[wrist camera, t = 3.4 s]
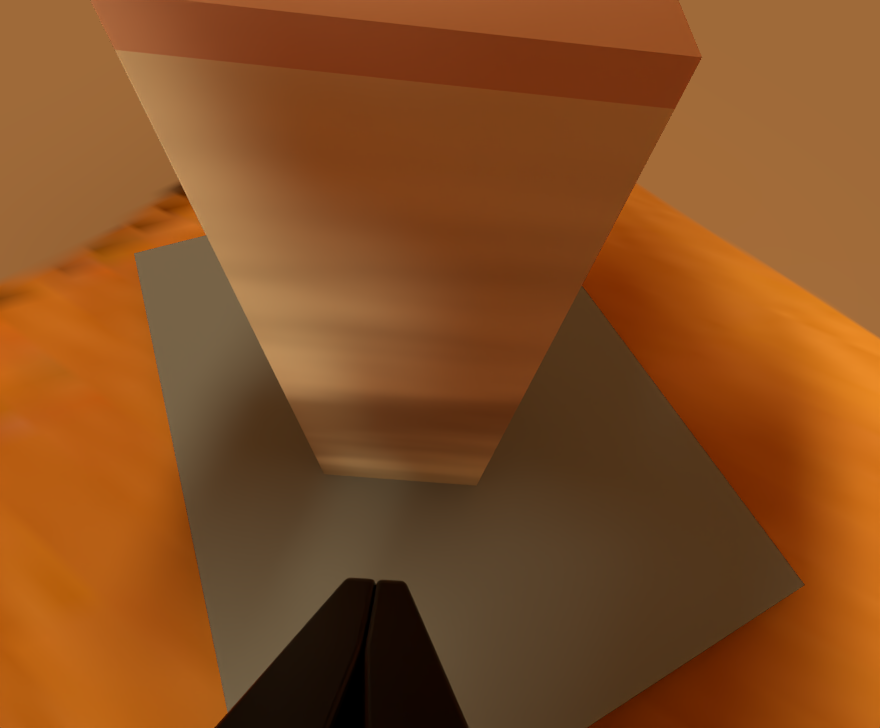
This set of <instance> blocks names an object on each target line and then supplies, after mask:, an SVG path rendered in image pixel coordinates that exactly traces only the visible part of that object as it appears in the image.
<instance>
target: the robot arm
mask: <svg viewBox="0 0 880 728" xmlns="http://www.w3.org/2000/svg"><path fill="white" fill-rule="evenodd" d="M215 728H469V726H468V724H467V722H466V719H465V717H464V715H463V712H462V710H461V708H460V706H459V703H458V701H457V699H456V696H455V694H454V692H453V689H452V687H451V685H450V682H449V680H448V678H447V675H446V673H445V671H444V669H443V666H442V664H441V662H440V659H439V657H438V655H437V652H436V650H435V648H434V645H433V643H432V641H431V638H430V636H429V634H428V632H427V629H426V627H425V625H424V622H423V620H422V618H421V615H420V613H419V611H418V608H417V606H416V604H415V601H414V599H413V597H412V595H411V592H410V590H409V588H408V586H407V584H406V583H405V582H404V581H398V580H383V579H382V580H379V581H378V582H377V583H375V581H374V580H373V579H368V578H353V577H350V578H347V579H345V580H344V581H343V582H342V584H341V585H340V586H339V587H338V588H337V589H336V590H335V591H334V593H333V594H332V595H331V596H330V597H329V598H328V599H327V601H326V602H325V603H324V604H323V605H322V606H321V607H320V609H319V610H318V611H317V612H316V613H315V614H314V615H313V616H312V618H311V619H310V620H309V621H308V622H307V623H306V624H305V626H304V627H303V628H302V629H301V630H300V631H299V632H298V634H297V635H296V636H295V637H294V638H293V639H292V640H291V641H290V643H289V644H288V645H287V646H286V647H285V648H284V649H283V651H282V652H281V653H280V654H279V655H278V656H277V657H276V659H275V660H274V661H273V662H272V663H271V664H270V665H269V666H268V668H267V669H266V670H265V671H264V672H263V673H262V674H261V676H260V677H259V678H258V679H257V680H256V681H255V682H254V684H253V685H252V686H251V687H250V688H249V689H248V690H247V691H246V693H245V694H244V695H243V696H242V697H241V698H240V699H239V701H238V702H237V703H236V704H235V705H234V706H233V707H232V708H231V710H230V711H229V712H228V713H227V714H226V715H225V716H224V718H223V719H222V720H221V721H220V722H219V723H218V724H217V726H216V727H215Z"/></svg>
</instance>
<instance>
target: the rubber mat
mask: <svg viewBox="0 0 880 728" xmlns="http://www.w3.org/2000/svg"><path fill="white" fill-rule="evenodd" d="M134 255H135V260H136V265H137V269H138V274H139V279H140V284H141V289H142V294H143V299H144V304H145V309H146V314H147V319H148V323H149V328H150V333H151V338H152V343H153V348H154V353H155V358H156V363H157V368H158V372H159V377H160V382H161V387H162V392H163V397H164V402H165V407H166V412H167V417H168V422H169V426H170V431H171V436H172V441H173V446H174V451H175V456H176V461H177V466H178V471H179V476H180V480H181V485H182V490H183V495H184V500H185V505H186V510H187V515H188V520H189V525H190V529H191V534H192V539H193V544H194V549H195V554H196V559H197V564H198V569H199V574H200V579H201V583H202V588H203V593H204V598H205V603H206V608H207V613H208V618H209V623H210V628H211V633H212V637H213V642H214V647H215V652H216V657H217V662H218V667H219V672H220V677H221V682H222V686H223V691H224V696H225V701H226V706H227V711H228V712H229V711H230V710H231V708H232V707H233V706H234V705H235V704H236V703H237V702H238V701H239V699H240V698H241V697H242V696H243V695H244V694H245V693H246V691H247V690H248V689H249V688H250V687H251V686H252V685H253V684H254V682H255V681H256V680H257V679H258V678H259V677H260V676H261V674H262V673H263V672H264V671H265V670H266V669H267V668H268V666H269V665H270V664H271V663H272V662H273V661H274V660H275V659H276V657H277V656H278V655H279V654H280V653H281V652H282V651H283V649H284V648H285V647H286V646H287V645H288V644H289V643H290V641H291V640H292V639H293V638H294V637H295V636H296V635H297V634H298V632H299V631H300V630H301V629H302V628H303V627H304V626H305V624H306V623H307V622H308V621H309V620H310V619H311V618H312V616H313V615H314V614H315V613H316V612H317V611H318V610H319V609H320V607H321V606H322V605H323V604H324V603H325V602H326V601H327V599H328V598H329V597H330V596H331V595H332V594H333V593H334V591H335V590H336V589H337V588H338V587H339V586H340V585H341V584H342V582H343V581H344V580H345V579H347V578H350V577H353V578H368V579H373V580H374V581H375V583H377V582H378V581H379V580H382V579H383V580H398V581H404V582H405V583H406V584H407V586H408V588H409V590H410V592H411V595H412V597H413V599H414V601H415V604H416V606H417V608H418V611H419V613H420V615H421V618H422V620H423V622H424V625H425V627H426V629H427V632H428V634H429V636H430V638H431V641H432V643H433V645H434V648H435V650H436V652H437V655H438V657H439V659H440V662H441V664H442V666H443V669H444V671H445V673H446V675H447V678H448V680H449V682H450V685H451V687H452V689H453V692H454V694H455V696H456V699H457V701H458V703H459V706H460V708H461V710H462V712H463V715H464V717H465V719H466V722H467V724H468V726H469V728H587V727H589V726H590V725H592V724H593V723H595V722H596V721H598V720H599V719H601V718H602V717H604V716H605V715H607V714H609V713H610V712H612V711H613V710H615V709H616V708H618V707H619V706H621V705H622V704H624V703H625V702H627V701H628V700H630V699H631V698H633V697H634V696H636V695H638V694H639V693H641V692H642V691H644V690H645V689H647V688H648V687H650V686H651V685H653V684H654V683H656V682H657V681H659V680H660V679H662V678H664V677H665V676H667V675H668V674H670V673H671V672H673V671H674V670H676V669H677V668H679V667H680V666H682V665H683V664H685V663H686V662H688V661H689V660H691V659H693V658H694V657H696V656H697V655H699V654H700V653H702V652H703V651H705V650H706V649H708V648H709V647H711V646H712V645H714V644H715V643H717V642H718V641H720V640H722V639H723V638H725V637H726V636H728V635H729V634H731V633H732V632H734V631H735V630H737V629H738V628H740V627H741V626H743V625H744V624H746V623H748V622H749V621H751V620H752V619H754V618H755V617H757V616H758V615H760V614H761V613H763V612H764V611H766V610H767V609H769V608H770V607H772V606H773V605H775V604H777V603H778V602H780V601H781V600H783V599H784V598H786V597H787V596H789V595H790V594H792V593H793V592H795V591H796V590H798V589H799V588H801V587H803V586H804V583H803V582H802V581H801V579H800V578H799V577H798V575H797V574H796V573H795V571H794V570H793V568H792V567H791V566H790V564H789V563H788V562H787V560H786V559H785V558H784V556H783V555H782V554H781V552H780V551H779V550H778V548H777V547H776V546H775V544H774V543H773V542H772V540H771V539H770V538H769V536H768V535H767V534H766V532H765V531H764V530H763V528H762V527H761V526H760V524H759V523H758V521H757V520H756V519H755V517H754V516H753V515H752V513H751V512H750V511H749V509H748V508H747V507H746V505H745V504H744V503H743V501H742V500H741V499H740V497H739V496H738V495H737V493H736V492H735V491H734V489H733V488H732V487H731V485H730V484H729V483H728V481H727V480H726V478H725V477H724V476H723V474H722V473H721V472H720V470H719V469H718V468H717V466H716V465H715V464H714V462H713V461H712V460H711V458H710V457H709V456H708V454H707V453H706V452H705V450H704V449H703V448H702V446H701V445H700V444H699V442H698V441H697V440H696V438H695V437H694V435H693V434H692V433H691V431H690V430H689V429H688V427H687V426H686V425H685V423H684V422H683V421H682V419H681V418H680V417H679V415H678V414H677V413H676V411H675V410H674V409H673V407H672V406H671V405H670V403H669V402H668V401H667V399H666V398H665V397H664V395H663V394H662V393H661V391H660V390H659V388H658V387H657V386H656V384H655V383H654V382H653V380H652V379H651V378H650V376H649V375H648V374H647V372H646V371H645V370H644V368H643V367H642V366H641V364H640V363H639V362H638V360H637V359H636V358H635V356H634V355H633V354H632V352H631V351H630V350H629V348H628V347H627V345H626V344H625V343H624V341H623V340H622V339H621V337H620V336H619V335H618V333H617V332H616V331H615V329H614V328H613V327H612V325H611V324H610V323H609V321H608V320H607V319H606V317H605V316H604V315H603V313H602V312H601V311H600V309H599V308H598V307H597V305H596V304H595V302H594V301H593V300H592V298H591V297H590V296H589V294H588V293H587V292H586V290H585V289H584V288H583V286H581V288H580V290H579V292H578V294H577V295H576V297H575V299H574V301H573V303H572V305H571V307H570V309H569V311H568V313H567V314H566V316H565V318H564V320H563V322H562V324H561V326H560V328H559V330H558V332H557V333H556V335H555V337H554V339H553V341H552V343H551V345H550V347H549V349H548V351H547V352H546V354H545V356H544V358H543V360H542V362H541V364H540V366H539V368H538V370H537V371H536V373H535V375H534V377H533V379H532V381H531V383H530V385H529V387H528V389H527V390H526V392H525V394H524V396H523V398H522V400H521V402H520V404H519V406H518V408H517V409H516V411H515V413H514V415H513V417H512V419H511V421H510V423H509V425H508V427H507V428H506V430H505V432H504V434H503V436H502V438H501V440H500V442H499V444H498V446H497V447H496V449H495V451H494V453H493V455H492V457H491V459H490V461H489V463H488V465H487V466H486V468H485V470H484V472H483V474H482V476H481V478H480V480H479V482H478V484H477V485H476V486H474V485H461V484H448V483H435V482H421V481H408V480H395V479H381V478H368V477H355V476H341V475H328V474H324V473H323V471H322V469H321V467H320V465H319V463H318V461H317V459H316V457H315V455H314V453H313V450H312V448H311V446H310V444H309V442H308V440H307V438H306V436H305V434H304V432H303V430H302V428H301V426H300V424H299V422H298V420H297V418H296V416H295V414H294V412H293V410H292V408H291V406H290V404H289V402H288V400H287V398H286V396H285V394H284V392H283V390H282V388H281V386H280V384H279V382H278V380H277V378H276V376H275V373H274V371H273V369H272V367H271V365H270V363H269V361H268V359H267V357H266V355H265V353H264V351H263V349H262V347H261V345H260V343H259V341H258V339H257V337H256V335H255V333H254V331H253V329H252V327H251V325H250V323H249V321H248V319H247V317H246V315H245V313H244V311H243V309H242V307H241V305H240V303H239V301H238V299H237V296H236V294H235V292H234V290H233V288H232V286H231V284H230V282H229V280H228V278H227V276H226V274H225V272H224V270H223V268H222V266H221V264H220V262H219V260H218V258H217V256H216V254H215V252H214V250H213V248H212V246H211V244H210V242H209V240H208V238H207V236H202V237H198V238H194V239H190V240H186V241H182V242H178V243H174V244H170V245H166V246H162V247H158V248H154V249H150V250H146V251H142V252H138V253H134Z"/></svg>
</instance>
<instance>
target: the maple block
mask: <svg viewBox="0 0 880 728" xmlns="http://www.w3.org/2000/svg"><path fill="white" fill-rule="evenodd" d="M90 1H91V3H92V5H93V7H94V9H95V11H96V12H97V15H98V17H99V19H100V21H101V23H102V25H103V27H104V29H105V31H106V33H107V35H108V37H109V39H110V41H111V43H112V45H113V47H114V49H115V51H116V53H117V55H118V57H119V59H120V61H121V63H122V65H123V67H124V70H125V72H126V74H127V76H128V78H129V79H130V82H131V84H132V86H133V88H134V90H135V92H136V94H137V96H138V98H139V100H140V102H141V104H142V106H143V108H144V110H145V112H146V114H147V116H148V118H149V120H150V122H151V124H152V126H153V128H154V130H155V132H156V134H157V136H158V138H159V140H160V143H161V145H162V146H163V149H164V150H165V153H166V155H167V157H168V159H169V161H170V163H171V165H172V167H173V169H174V171H175V173H176V175H177V177H178V179H179V181H180V183H181V185H182V187H183V189H184V191H185V193H186V195H187V197H188V199H189V201H190V203H191V205H192V207H193V209H194V211H195V213H196V215H197V217H198V219H199V222H200V224H201V226H202V228H203V230H204V232H205V234H206V236H207V238H208V240H209V242H210V244H211V246H212V248H213V250H214V252H215V254H216V256H217V258H218V260H219V262H220V264H221V266H222V268H223V270H224V272H225V274H226V276H227V278H228V280H229V282H230V284H231V286H232V288H233V290H234V292H235V294H236V296H237V299H238V301H239V303H240V305H241V307H242V309H243V311H244V313H245V315H246V317H247V319H248V321H249V323H250V325H251V327H252V329H253V331H254V333H255V335H256V337H257V339H258V341H259V343H260V345H261V347H262V349H263V351H264V353H265V355H266V357H267V359H268V361H269V363H270V365H271V367H272V369H273V371H274V373H275V376H276V378H277V380H278V382H279V384H280V386H281V388H282V390H283V392H284V394H285V396H286V398H287V400H288V402H289V404H290V406H291V408H292V410H293V412H294V414H295V416H296V418H297V420H298V422H299V424H300V426H301V428H302V430H303V432H304V434H305V436H306V438H307V440H308V442H309V444H310V446H311V448H312V450H313V453H314V455H315V457H316V459H317V461H318V463H319V465H320V467H321V469H322V471H323V473H324V474H328V475H341V476H355V477H368V478H381V479H395V480H408V481H421V482H435V483H448V484H461V485H474V486H476V485H477V484H478V482H479V480H480V478H481V476H482V474H483V472H484V470H485V468H486V466H487V465H488V463H489V461H490V459H491V457H492V455H493V453H494V451H495V449H496V447H497V446H498V444H499V442H500V440H501V438H502V436H503V434H504V432H505V430H506V428H507V427H508V425H509V423H510V421H511V419H512V417H513V415H514V413H515V411H516V409H517V408H518V406H519V404H520V402H521V400H522V398H523V396H524V394H525V392H526V390H527V389H528V387H529V385H530V383H531V381H532V379H533V377H534V375H535V373H536V371H537V370H538V368H539V366H540V364H541V362H542V360H543V358H544V356H545V354H546V352H547V351H548V349H549V347H550V345H551V343H552V341H553V339H554V337H555V335H556V333H557V332H558V330H559V328H560V326H561V324H562V322H563V320H564V318H565V316H566V314H567V313H568V311H569V309H570V307H571V305H572V303H573V301H574V299H575V297H576V295H577V294H578V292H579V290H580V288H581V286H582V284H583V282H584V280H585V278H586V276H587V275H588V273H589V271H590V269H591V267H592V265H593V263H594V261H595V259H596V257H597V256H598V254H599V252H600V250H601V248H602V246H603V244H604V242H605V240H606V238H607V237H608V235H609V233H610V231H611V229H612V227H613V225H614V223H615V221H616V219H617V218H618V216H619V214H620V212H621V210H622V208H623V206H624V204H625V202H626V200H627V199H628V197H629V195H630V193H631V191H632V189H633V187H634V185H635V183H636V181H637V180H638V178H639V176H640V174H641V172H642V170H643V168H644V166H645V164H646V162H647V161H648V159H649V157H650V155H651V153H652V151H653V149H654V147H655V145H656V143H657V142H658V140H659V138H660V136H661V134H662V132H663V130H664V128H665V126H666V124H667V123H668V121H669V119H670V117H671V115H672V113H673V111H674V109H675V107H676V105H677V103H678V102H679V100H680V98H681V96H682V94H683V92H684V90H685V88H686V86H687V85H688V83H689V81H690V79H691V77H692V75H693V73H694V71H695V69H696V67H697V66H698V64H699V62H700V60H701V58H702V57H701V54H700V52H699V49H698V47H697V44H696V42H695V40H694V37H693V35H692V32H691V30H690V27H689V25H688V23H687V20H686V18H685V15H684V13H683V10H682V8H681V5H680V3H679V0H90Z"/></svg>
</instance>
